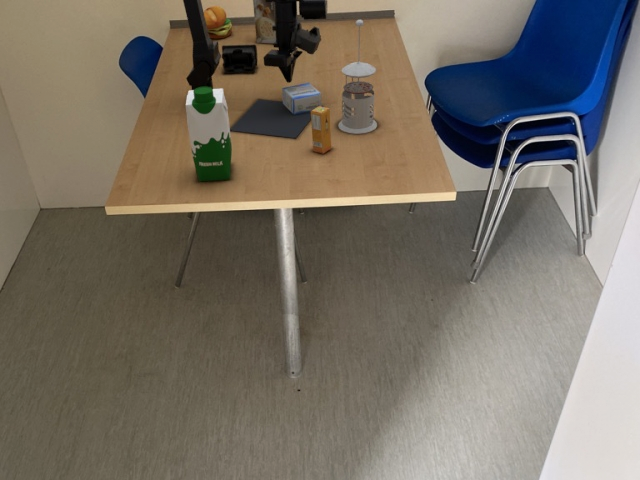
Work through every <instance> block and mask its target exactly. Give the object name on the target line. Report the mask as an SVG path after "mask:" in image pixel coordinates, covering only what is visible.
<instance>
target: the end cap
mask: <svg viewBox="0 0 640 480" xmlns="http://www.w3.org/2000/svg"><path fill="white" fill-rule="evenodd" d="M221 52H222V53H221V59H222V61H223V63H222V67H223V70H224V71H223V73H224V75H238V74H240V75H241V74H242V75H243V74H255V73H256V69H257V66H258V48H257V45H256V44H226V45H223V44H222V45H221Z"/></svg>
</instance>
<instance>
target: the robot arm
mask: <svg viewBox="0 0 640 480" xmlns="http://www.w3.org/2000/svg"><path fill="white" fill-rule="evenodd" d="M265 1H266V2H274V17H275V24H274V25H273V26H272V30H273V31H275V34H276V41H275V42H274V43H272V46H273V49H272V48H271V49H270V50H269V51H268V52H267V53H266V54H265V55H264V56H263V65H264V66H265V67H274V68H278V69H279V71H280V72H281V74H282V77H283V78H284V80H285V82H286V83H288V84H290V83H292V81H293V78H294V72H295V69H296V63H297V60H298V58H299V57H300V56H301V55H302V54H303V53H304V52H306V53H307V54H308V55H314V54H315V52H316V51H318V48H319V45H320V43H321V42H322V35H321V31H320V28H319V27H317V26H313V27H312V28H311V29H310V30H309V29H308V28H307V29H304V28H302V23H301V21H299V19H298V14H299V16H300V17H301V18H303V20H304V21H312V20H313V21H315V20H316V21H317V20H327V19H328V0H265ZM182 2H183V7H184V10H185V15H186V19H187V23H188V28H189V31H190V35H191V40H192V56H191V57H192V68H191V70H190V71H189V73H188V75H187V77H186V81H187V84H188V86H190V87H191V90H195V89H196V88H199V87H211V88H212V89H214V82H213V76H214V74H215V73H216V70H217V69H218V67H219V65H220V61H221V59H222V53H221V52H220V49H219V41H213V40H212V38H210V37H209V34H208V30H207V25H206V21H205V16H204V8H203V3H202V0H182ZM277 48H278V49H277ZM299 49H300V50H299Z"/></svg>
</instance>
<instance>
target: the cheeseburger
mask: <svg viewBox="0 0 640 480" xmlns="http://www.w3.org/2000/svg"><path fill="white" fill-rule="evenodd" d="M203 12H204V16H205V21H206V25H207V30H208V34H209V37H210V39H224V38H227V37H229V36H230V35H231V34H232V28H233V24H232V20H231V19H230V18H227V13H226V10H225V9H223V7H221V6H220V5H219V6H218V5H213V6H209V7H207V8H205V10H203Z"/></svg>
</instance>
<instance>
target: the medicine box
mask: <svg viewBox="0 0 640 480" xmlns="http://www.w3.org/2000/svg"><path fill="white" fill-rule="evenodd" d="M281 89H282V102H283V104H284V105H285V106H286V107H287V108H288V109H289V110H290V111H291V112H292V113H293V114H294V115H296V114H301V113H305V112H310V111H312V110H314V109H315V108H317V107H318V106H320V107H323V105H322V93H321V92H320V91H319V90H318V89H317V88H316V87H315V86H313V85H312V84H311V83H310V82H304V83H299V84H296V85H290V86H285V87H282V88H281Z"/></svg>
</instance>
